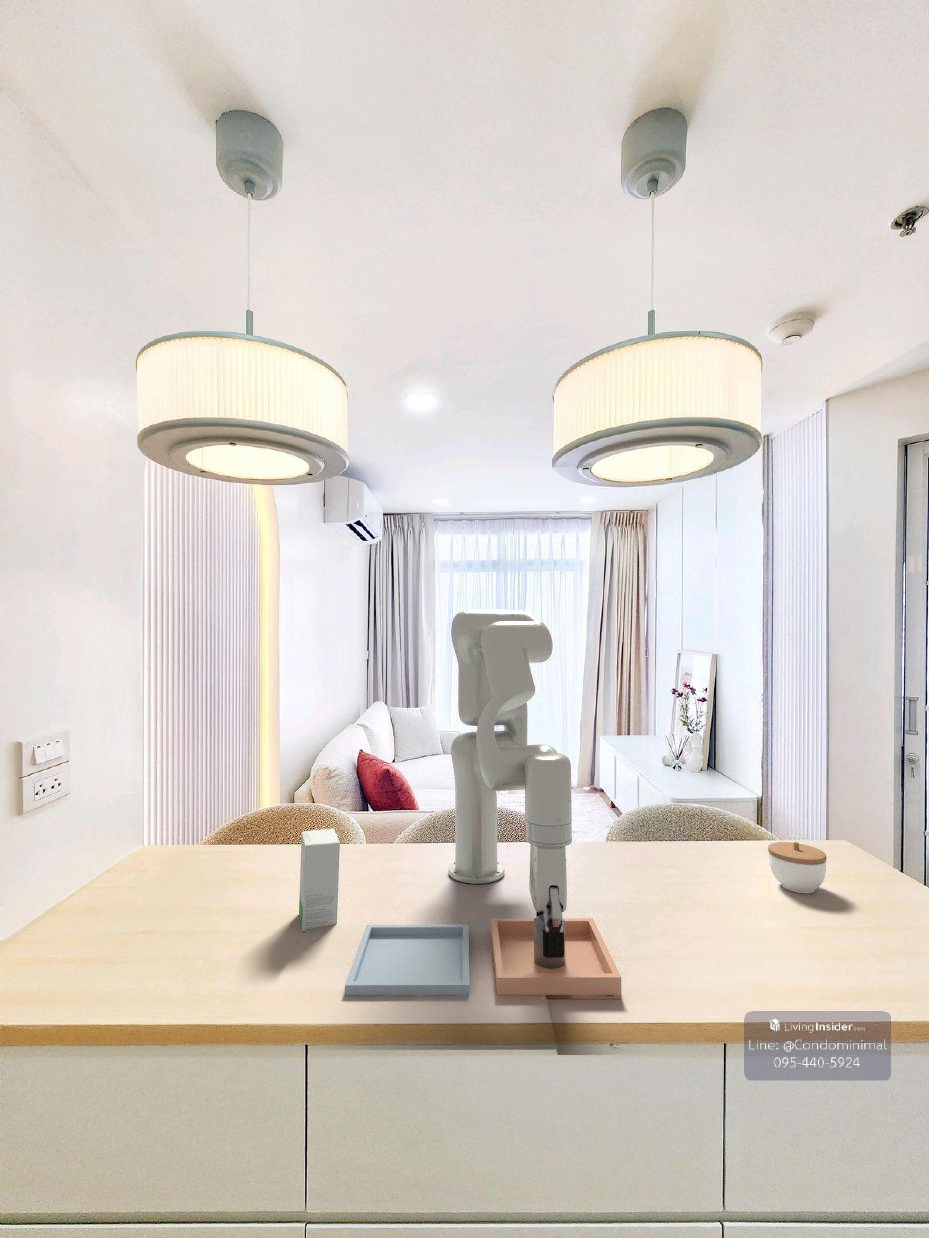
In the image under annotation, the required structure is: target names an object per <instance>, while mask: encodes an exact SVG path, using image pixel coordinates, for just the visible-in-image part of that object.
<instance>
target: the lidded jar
mask: <svg viewBox="0 0 929 1238" xmlns="http://www.w3.org/2000/svg"><path fill="white" fill-rule="evenodd" d="M767 851H768V862H769V867H770V870H771V873H772V874H773V876H774V879H776V880H777V881H778V883H780V885H781V887H782V888H784V889H785V890H787V891H790V892H793V893H799V894H807V895H808V894H813V893H814V892H815V890H817V889H818V888H820V886H821V885H822V884H823V883H824V881H825V878H826V872H827V859H828V858H827V854H826V853H825V851H823V850H821V849H819V848H816V847H815V846H812V845H807V844H804V843H799V841H793V842H788V841H777V842H776V841H775V842H771V843H769V844H768V846H767Z"/></svg>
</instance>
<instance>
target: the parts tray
mask: <svg viewBox="0 0 929 1238" xmlns="http://www.w3.org/2000/svg"><path fill="white" fill-rule="evenodd" d="M469 928H470V927H469V924H467V923H465V924H463V923H461V924H455V923H454V924H453V923H452V924H450V923H449V924H448V923H447V924H446V923H445V924H433V923H432V924H366V925H365V927H364V931H363V933H362V937H361V938H360V939H361V940H360V943H359V945H358V947H357V951H356V953H355V957H354V959H353V963H352V965H351V968H350V969H349V973H348V975H347V978H346V981H345V984H344V996H346V997H348V996H349V997H351V996H352V997H353V996H354V997H356V996H357V997H358V996H360V997H361V996H362V997H363V996H368V997H369V996H373V997H375V996H379V997H380V996H383V997H384V996H387V997H388V996H389V997H390V996H393V997H395V996H470V945H469V944H470V943H469V942H470V941H469V940H470V938H469V937H470V936H469V933H470V932H469V931H470V930H469Z"/></svg>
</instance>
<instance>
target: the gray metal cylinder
mask: <svg viewBox="0 0 929 1238" xmlns="http://www.w3.org/2000/svg"><path fill="white" fill-rule="evenodd" d="M551 916H552V915H550V914H548V921H549V919H550V918H552V917H551ZM543 929H545V927H544V915H539V916H537V917H536V916H535V917H534V961H535V963H536V964H537V965H539V966H541V967H544V968H548V969H556V968H560V967H562V966H563V965H564V964H565V921H564V920H563V930H564V957H563V958H545V957H544V956H543Z"/></svg>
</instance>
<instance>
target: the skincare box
mask: <svg viewBox="0 0 929 1238" xmlns="http://www.w3.org/2000/svg"><path fill="white" fill-rule="evenodd" d="M338 836H339V835H338V834H337V833H336V831H335V829H334V828H332V827H331V828H325V829H322V828H321V829H315V830H314V829H313V830H306V831H301V842H300V843H301V844H300V871H299V872H300V874H299V877H300V878H299V896H298V897H299V900H298V903H299V904H298V915H299V921H300V927H301V931H302V933H306V932H307V930H309V929H315V928H322V927H326V926H333V925H337V924H338V909H339V908H338V907H339V906H338V903H339V901H338V900H339V878H340V877H339V876H340V875H339V874H340V852H341V851H340V850H341V842H340V840H339V838H338Z"/></svg>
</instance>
